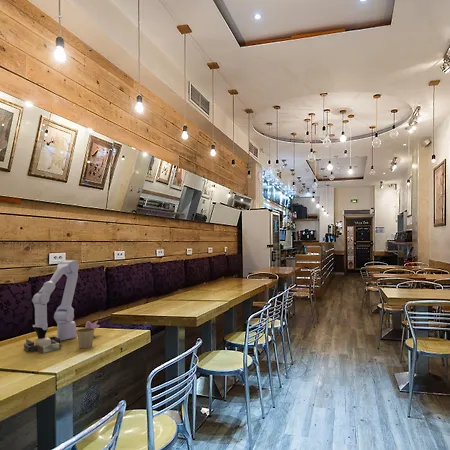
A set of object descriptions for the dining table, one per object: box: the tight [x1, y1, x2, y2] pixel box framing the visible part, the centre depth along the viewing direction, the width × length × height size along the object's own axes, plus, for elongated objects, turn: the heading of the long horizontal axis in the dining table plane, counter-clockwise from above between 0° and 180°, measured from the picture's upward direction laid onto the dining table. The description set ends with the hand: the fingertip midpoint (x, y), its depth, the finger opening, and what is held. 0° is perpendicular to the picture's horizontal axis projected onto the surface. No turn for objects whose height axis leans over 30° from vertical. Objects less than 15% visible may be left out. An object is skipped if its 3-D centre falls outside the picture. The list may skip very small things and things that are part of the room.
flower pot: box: [76, 327, 96, 349], centre depth 196 cm, size 9×9×9 cm
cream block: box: [34, 336, 51, 347], centre depth 198 cm, size 6×6×4 cm
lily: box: [84, 320, 101, 339], centre depth 216 cm, size 12×12×10 cm
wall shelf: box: [23, 335, 62, 354], centre depth 200 cm, size 17×27×3 cm, turn 42°
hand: (41, 341), depth 202 cm, fingers closed
